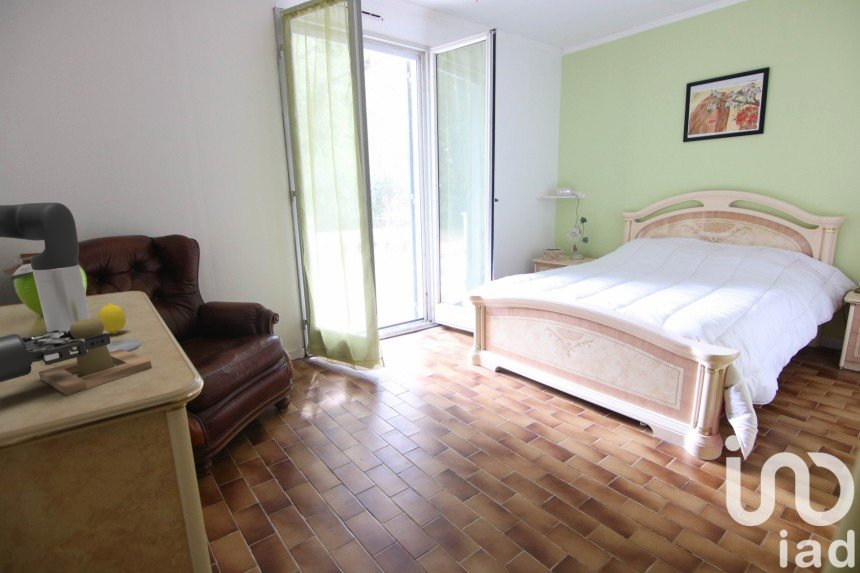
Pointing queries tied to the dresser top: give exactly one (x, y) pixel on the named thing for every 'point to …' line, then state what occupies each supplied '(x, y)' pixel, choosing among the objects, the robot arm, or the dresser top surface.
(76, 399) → the dresser top surface
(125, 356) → the walnut board
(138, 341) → the slate coaster
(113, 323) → the lemon
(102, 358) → the cork
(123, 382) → the dresser top surface
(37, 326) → the dresser top surface
